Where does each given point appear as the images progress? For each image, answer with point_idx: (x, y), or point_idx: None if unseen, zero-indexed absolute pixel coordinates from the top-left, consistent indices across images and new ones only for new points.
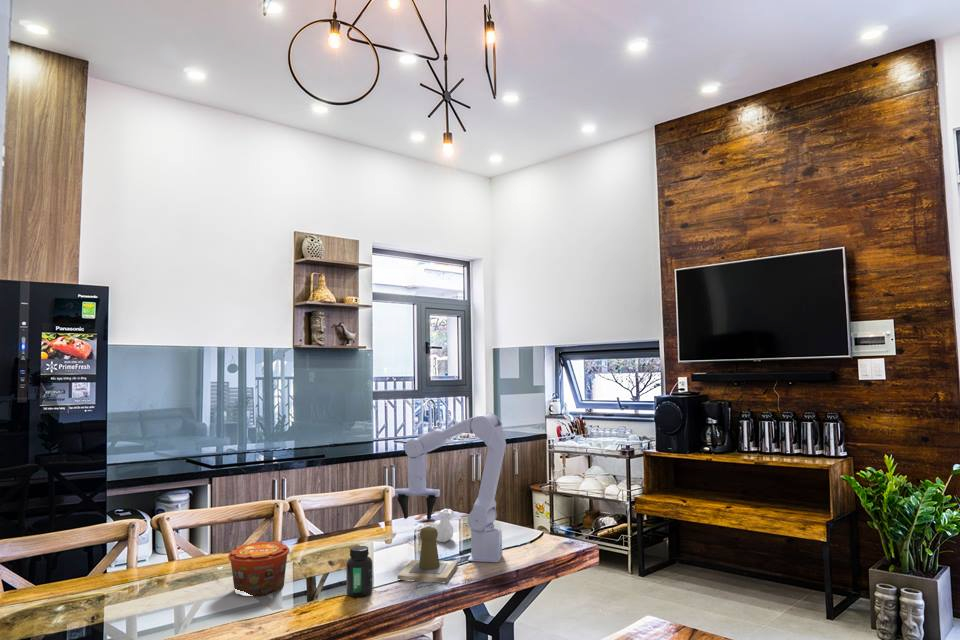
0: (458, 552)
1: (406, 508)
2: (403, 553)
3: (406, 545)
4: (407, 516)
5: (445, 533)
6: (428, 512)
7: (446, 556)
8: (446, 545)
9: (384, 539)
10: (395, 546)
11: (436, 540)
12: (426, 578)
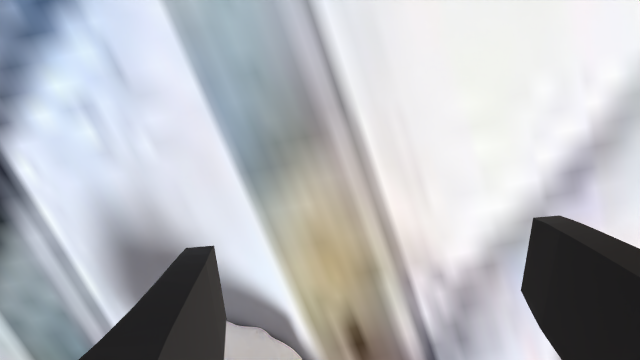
0: (15, 162)
1: (623, 357)
2: (424, 55)
3: (449, 229)
4: (533, 281)
5: None
6: (157, 303)
7: (53, 48)
8: None
9: None
10: (519, 195)
11: (278, 340)
12: None
